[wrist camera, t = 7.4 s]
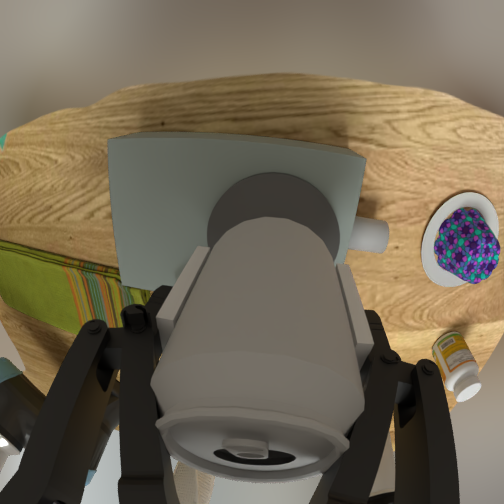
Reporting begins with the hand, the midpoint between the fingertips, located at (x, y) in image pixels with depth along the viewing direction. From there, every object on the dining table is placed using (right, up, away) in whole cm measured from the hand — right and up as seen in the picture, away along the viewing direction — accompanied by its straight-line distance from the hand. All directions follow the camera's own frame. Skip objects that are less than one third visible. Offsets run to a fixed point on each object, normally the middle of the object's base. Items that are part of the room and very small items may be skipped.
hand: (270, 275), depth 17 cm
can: (0, 0, +1) cm, 1 cm away
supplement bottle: (+28, -12, +17) cm, 34 cm away
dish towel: (-32, -5, +21) cm, 38 cm away
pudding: (+23, +3, +10) cm, 25 cm away
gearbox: (-1, +6, +11) cm, 12 cm away
